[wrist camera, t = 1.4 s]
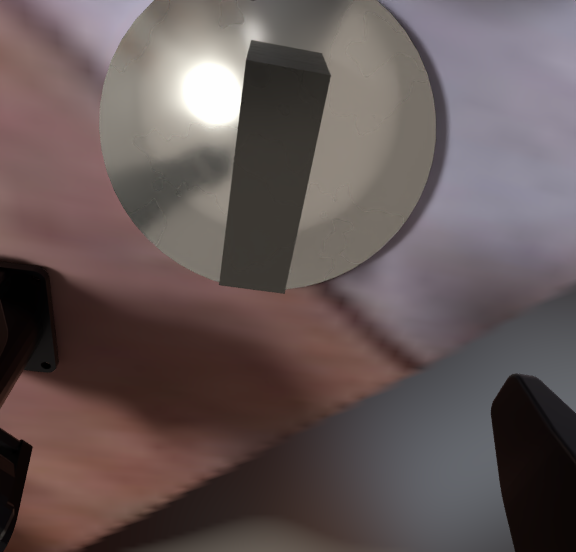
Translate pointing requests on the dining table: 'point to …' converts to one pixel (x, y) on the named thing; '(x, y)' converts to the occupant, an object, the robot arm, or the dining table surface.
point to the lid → (267, 135)
